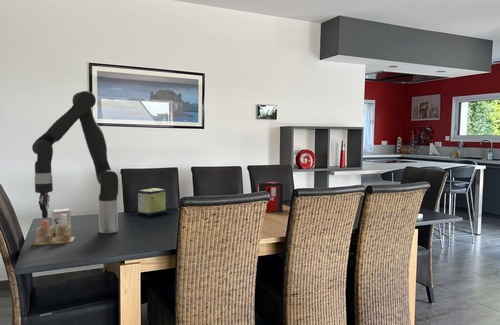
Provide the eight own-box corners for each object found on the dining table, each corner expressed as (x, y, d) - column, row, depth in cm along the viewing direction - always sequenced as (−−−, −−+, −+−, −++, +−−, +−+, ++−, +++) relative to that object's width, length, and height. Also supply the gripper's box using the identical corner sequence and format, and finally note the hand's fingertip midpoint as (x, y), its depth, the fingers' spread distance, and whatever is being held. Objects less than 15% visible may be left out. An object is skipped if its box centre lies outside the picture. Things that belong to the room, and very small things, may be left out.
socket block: (74, 237, 197) (74, 224, 197) (72, 242, 189) (71, 228, 188) (37, 240, 193) (36, 226, 192) (32, 245, 184) (32, 230, 183)
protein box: (166, 211, 266) (166, 189, 265) (148, 215, 253) (148, 191, 252) (155, 210, 271) (154, 187, 270) (137, 213, 258) (137, 190, 257)
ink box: (54, 233, 205) (53, 211, 204) (51, 231, 209) (51, 210, 208) (71, 231, 211) (70, 209, 210) (68, 229, 214) (68, 208, 214)
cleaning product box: (258, 212, 267) (258, 183, 266) (257, 209, 276) (257, 181, 275) (282, 212, 268) (283, 183, 267) (280, 209, 277) (281, 181, 276)
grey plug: (67, 230, 194) (67, 213, 193) (66, 232, 190) (65, 215, 190) (60, 231, 193) (59, 214, 192) (59, 232, 190) (58, 215, 189)
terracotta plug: (49, 237, 191) (49, 220, 191) (48, 238, 188) (47, 221, 188) (42, 237, 190) (41, 220, 190) (40, 239, 187) (40, 221, 187)
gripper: (49, 183, 182) (50, 220, 183) (54, 180, 195) (56, 214, 196) (31, 184, 180) (33, 221, 181) (38, 180, 193) (39, 215, 194)
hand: (45, 217), depth 189 cm, fingers closed
